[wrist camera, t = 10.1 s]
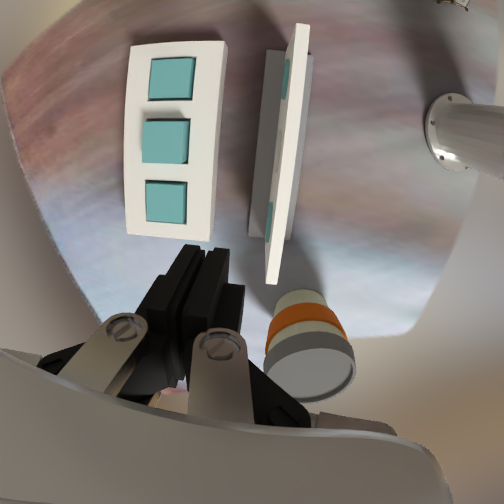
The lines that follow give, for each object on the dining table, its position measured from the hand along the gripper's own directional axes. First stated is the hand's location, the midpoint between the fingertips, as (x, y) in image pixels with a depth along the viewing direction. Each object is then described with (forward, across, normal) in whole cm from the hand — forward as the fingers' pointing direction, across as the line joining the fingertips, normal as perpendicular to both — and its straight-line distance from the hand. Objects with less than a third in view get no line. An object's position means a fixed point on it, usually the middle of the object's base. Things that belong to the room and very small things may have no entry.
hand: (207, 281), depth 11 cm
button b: (+27, +11, -2) cm, 29 cm away
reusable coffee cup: (+30, -10, +24) cm, 39 cm away
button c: (+28, +11, +6) cm, 30 cm away
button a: (+28, +11, -10) cm, 32 cm away
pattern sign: (+30, -3, -2) cm, 30 cm away
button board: (+29, +11, -2) cm, 31 cm away
